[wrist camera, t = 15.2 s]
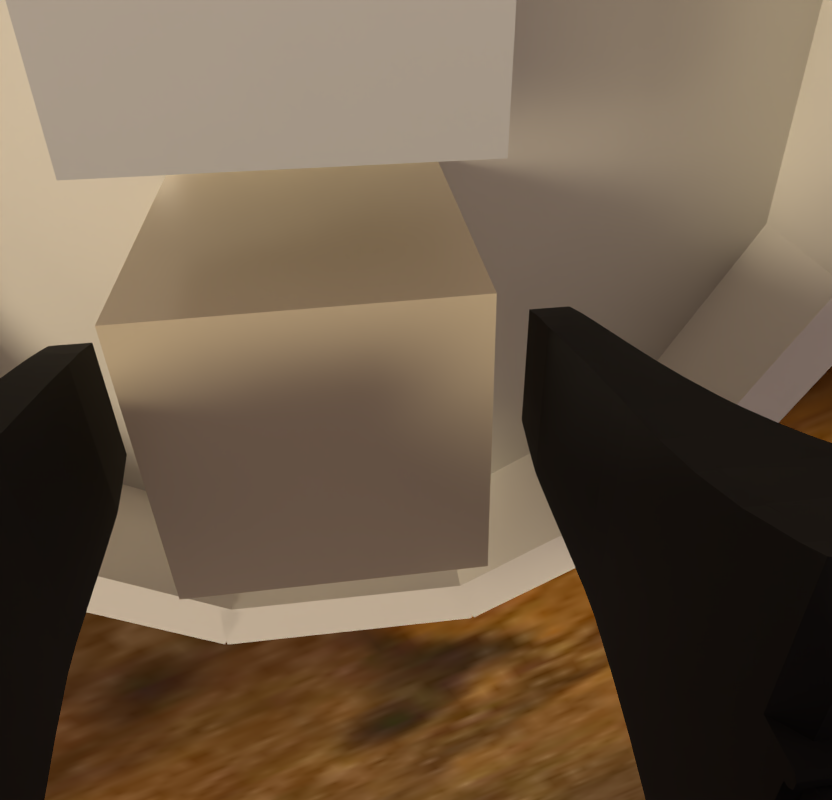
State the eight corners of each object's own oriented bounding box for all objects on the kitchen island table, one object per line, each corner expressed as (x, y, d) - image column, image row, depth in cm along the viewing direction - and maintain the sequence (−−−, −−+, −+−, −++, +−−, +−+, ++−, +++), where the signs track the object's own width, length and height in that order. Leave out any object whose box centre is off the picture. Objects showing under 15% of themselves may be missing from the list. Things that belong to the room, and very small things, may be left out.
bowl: (1058, -810, 8) (1447, -1163, 6) (717, 475, 19) (789, 583, 16) (-839, -900, 7) (-1651, -1445, 4) (-61, 550, 17) (-133, 683, 15)
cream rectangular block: (436, 156, 13) (496, 293, 9) (439, 378, 15) (487, 566, 11) (165, 175, 12) (95, 325, 8) (215, 399, 15) (179, 599, 11)
